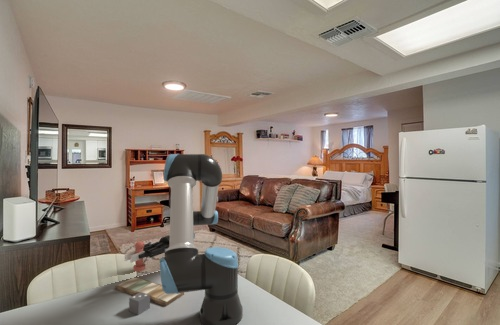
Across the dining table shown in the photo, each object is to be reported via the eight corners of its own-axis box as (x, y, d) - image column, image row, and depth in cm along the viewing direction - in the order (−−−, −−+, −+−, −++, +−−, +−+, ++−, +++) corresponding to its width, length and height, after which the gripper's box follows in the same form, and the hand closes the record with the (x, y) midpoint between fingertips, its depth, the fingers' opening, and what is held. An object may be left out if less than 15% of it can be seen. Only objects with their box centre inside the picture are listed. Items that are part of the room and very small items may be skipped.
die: (149, 308, 94) (149, 294, 95) (138, 315, 90) (138, 301, 90) (140, 304, 97) (140, 291, 97) (129, 311, 92) (129, 297, 92)
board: (184, 294, 104) (184, 291, 104) (165, 306, 95) (165, 302, 95) (135, 279, 118) (135, 276, 118) (115, 288, 109) (115, 285, 109)
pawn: (147, 268, 111) (147, 240, 111) (138, 272, 107) (138, 243, 107) (140, 266, 113) (140, 239, 113) (130, 270, 109) (131, 242, 109)
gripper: (182, 252, 122) (141, 271, 102) (158, 247, 130) (115, 263, 109) (182, 237, 122) (141, 252, 102) (158, 233, 130) (115, 246, 109)
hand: (128, 258), depth 105 cm, fingers closed on pawn, 3 cm apart
